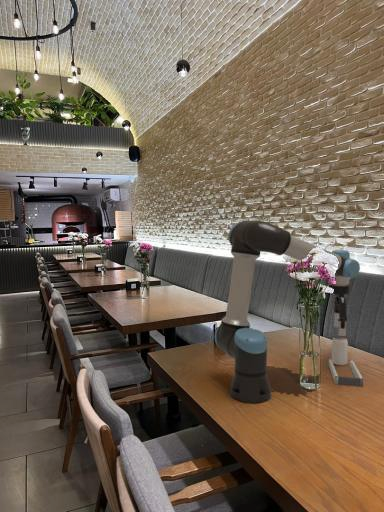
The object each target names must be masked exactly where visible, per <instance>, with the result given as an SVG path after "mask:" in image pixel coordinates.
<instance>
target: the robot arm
mask: <svg viewBox="0 0 384 512" xmlns="http://www.w3.org/2000/svg"><path fill="white" fill-rule="evenodd" d="M228 242H229V244H230V246H231V250H230V254H231V255H232V256H233V262H232V270H231V276H230V283H229V292H228V297H227V304H226V305H227V306H226V311H225V312H226V313H225V316H224V317H222V318H221V322H220V324H219V326H217V328H216V330H215V331H214V341H215V344H216V346H217V347H218V349H220V350H221V352H223V353H224V354H226V355H228V356H229V357H230V358H232V359H234V374H233V377H232V380H231V383H230V386H229V387H230V388H229V394H230V396H231V397H232V398H233V399H234V400H237V401H239V402H242V403H249V404H258V403H264V402H266V401H269V400H270V398H271V397H272V387H271V384H270V381H269V378H268V375H267V364H268V362H267V360H268V359H267V354H268V341H267V335H266V334H265V333H264V332H263V331H262V330H259V329H255V328H253V327H252V328H251V323H250V321H249V320H248V316H249V315H248V314H249V307H250V301H251V293H252V286H253V280H254V271H255V266H256V260H257V259H259V258H260V257H261V252H263V253H270V254H274V255H277V256H282V255H285V256H287V257H289V258H293V259H296V260H297V261H300V260H301V259H304V258H306V257H307V255H308V254H309V252H310V251H311V250H312V249H313V248H316V247H319V248H321V247H320V246H318V245H315V244H312V243H310V242H308V241H305V240H303V239H300V238H297V237H296V236H293V235H292V234H291V232H290V231H288V230H286V229H283V228H281V227H279V226H277V225H274V224H273V223H271V222H268V221H264V220H243V221H239V222H236V223H235V224H233V225H232V227H230V229H229V232H228ZM322 249H323V250H324V251H325V252H327V253H329V254H332V255H334V256H336V257H337V259H338V261H339V264H338V269H337V270H336V273H335V277H336V284H335V285H332V284H331V285H332V286H330V287H331V288H333V289H334V292H333V293H332V294H334V302H333V303H334V304H333V312H334V318H333V319H334V320H333V321H334V325H333V327H335V328H338V335H340V336H345V337H346V334H347V331H346V330H347V320H348V319H347V317H348V315H347V314H348V313H347V303H346V302H347V299H346V297H345V295H349V293H350V285H349V284H350V280H351V279H353V278H356V277H357V276H358V275H359V273H360V270H361V266H360V262H359V261H358V260H356V259H355V258H351V256H350V251H349V250H348V249H334V250H331V251H329V250H327V249H325V248H322Z"/></svg>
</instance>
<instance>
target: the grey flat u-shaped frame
mask: <svg viewBox="0 0 384 512" xmlns="http://www.w3.org/2000/svg"><path fill="white" fill-rule="evenodd" d="M334 365H335V364H333V362H332V358H329V359H328V368H329V370H330V373H331V376H332V379H333V381H334V384H335V385H339V386H340V385H341V386H353V387H354V386H355V387H364V378H363V376H362V375H361V373H360V371H359V369H358V367H357V366H356V364H355V362H354V360H350V367H349V368H350V369H351V371H352V373H353V375H354V377H353V376H339V375H338V373H337V371H336V368H335V366H334Z"/></svg>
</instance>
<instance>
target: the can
mask: <svg viewBox="0 0 384 512" xmlns="http://www.w3.org/2000/svg"><path fill="white" fill-rule="evenodd" d="M348 348H349V343H348V339H347V337H346V336H341V335H339V334H338V335H333V338H332V342H331V360H332V362H333V365H336V366H340V367H341V366H343V367H344V366H347V364H348V350H349V349H348Z"/></svg>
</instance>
